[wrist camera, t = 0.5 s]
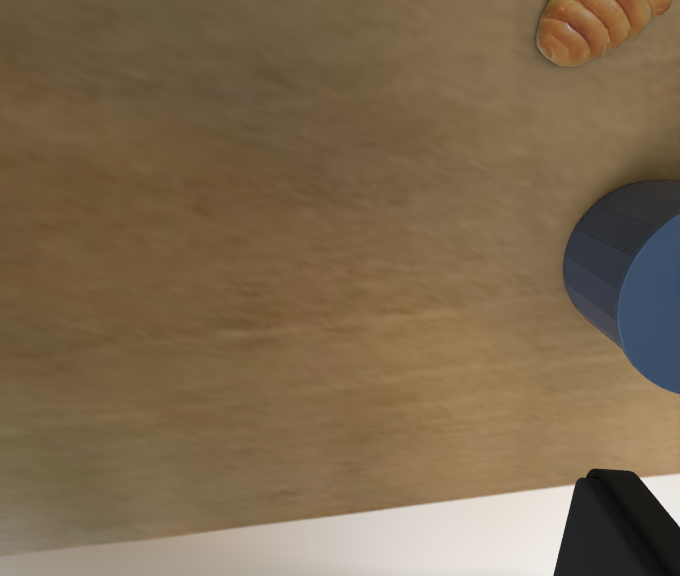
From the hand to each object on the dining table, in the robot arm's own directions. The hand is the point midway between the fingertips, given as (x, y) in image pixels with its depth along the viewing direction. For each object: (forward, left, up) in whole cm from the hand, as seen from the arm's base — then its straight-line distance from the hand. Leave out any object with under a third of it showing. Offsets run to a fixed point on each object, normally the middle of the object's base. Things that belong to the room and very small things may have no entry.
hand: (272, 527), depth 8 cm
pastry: (-15, +18, -35) cm, 42 cm away
